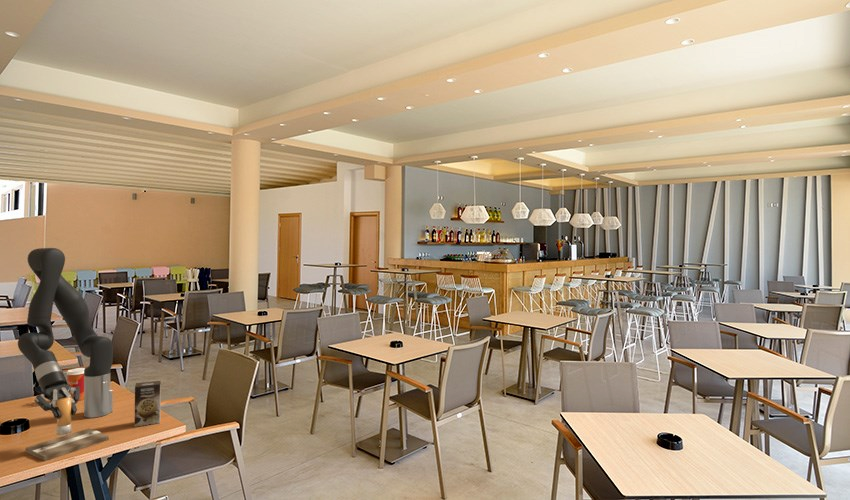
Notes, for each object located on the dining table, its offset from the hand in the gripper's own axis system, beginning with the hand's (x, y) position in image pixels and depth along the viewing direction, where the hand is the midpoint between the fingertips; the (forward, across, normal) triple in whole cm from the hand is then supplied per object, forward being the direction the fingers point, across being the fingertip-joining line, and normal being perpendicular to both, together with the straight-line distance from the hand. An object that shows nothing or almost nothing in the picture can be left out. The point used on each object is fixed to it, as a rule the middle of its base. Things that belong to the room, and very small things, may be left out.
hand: (66, 415), depth 168 cm
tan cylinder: (+3, 0, +6) cm, 7 cm away
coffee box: (+9, +28, +7) cm, 31 cm away
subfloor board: (+7, +1, +10) cm, 12 cm away
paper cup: (-31, +28, +47) cm, 63 cm away
